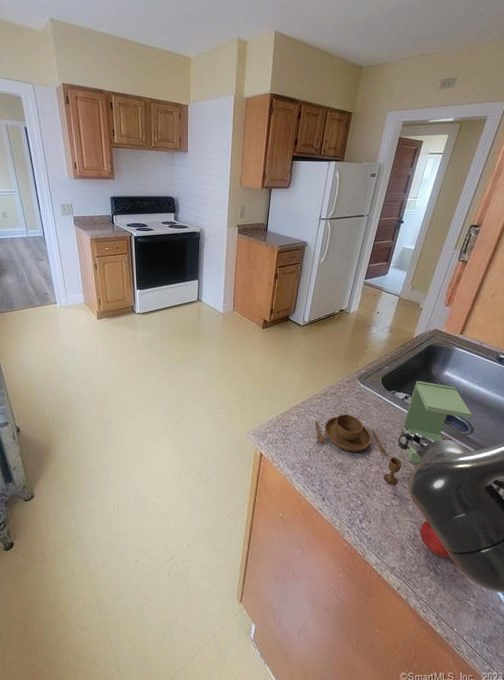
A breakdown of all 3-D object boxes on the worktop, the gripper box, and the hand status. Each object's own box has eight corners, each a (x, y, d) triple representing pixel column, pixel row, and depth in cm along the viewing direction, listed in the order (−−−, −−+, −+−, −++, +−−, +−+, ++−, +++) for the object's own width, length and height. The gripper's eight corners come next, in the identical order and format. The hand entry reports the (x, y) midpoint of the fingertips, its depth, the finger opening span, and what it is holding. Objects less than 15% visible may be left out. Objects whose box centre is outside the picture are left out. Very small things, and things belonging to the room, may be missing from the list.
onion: (413, 550, 63) (424, 523, 60) (419, 527, 67) (430, 501, 64) (448, 573, 59) (462, 545, 56) (452, 548, 63) (465, 520, 60)
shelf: (449, 470, 80) (472, 413, 73) (409, 461, 82) (428, 405, 76) (436, 440, 89) (455, 387, 82) (400, 433, 91) (416, 380, 84)
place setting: (372, 424, 94) (376, 408, 92) (401, 485, 76) (407, 467, 74) (311, 418, 96) (314, 402, 93) (325, 477, 77) (329, 459, 75)
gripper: (531, 481, 40) (502, 455, 54) (407, 421, 48) (409, 412, 61) (507, 537, 40) (485, 497, 54) (387, 467, 48) (394, 448, 61)
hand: (444, 451), depth 58 cm, fingers open, 8 cm apart
